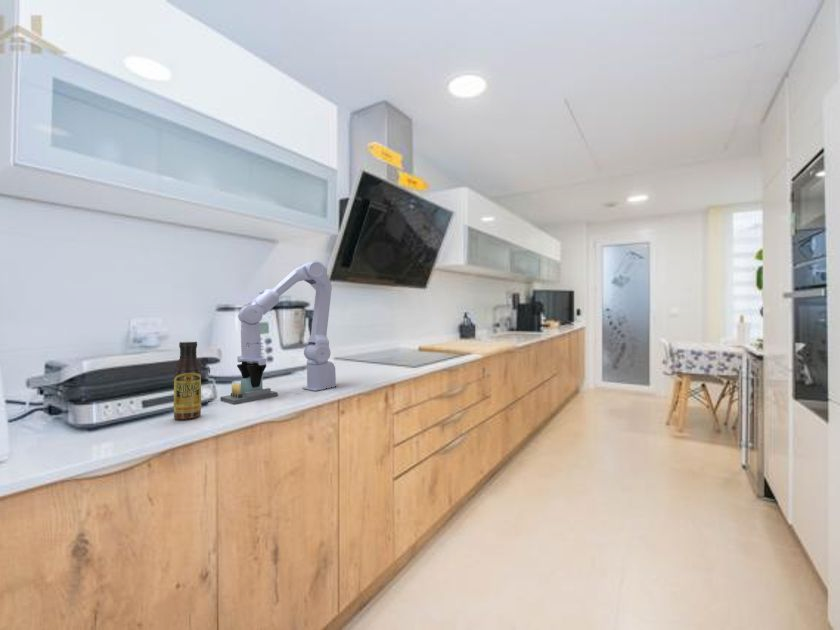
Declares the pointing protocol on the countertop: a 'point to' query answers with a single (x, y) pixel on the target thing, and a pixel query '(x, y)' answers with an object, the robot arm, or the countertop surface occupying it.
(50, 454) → the countertop surface
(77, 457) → the countertop surface
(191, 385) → the sauce bottle
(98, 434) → the countertop surface
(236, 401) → the header board
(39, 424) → the countertop surface
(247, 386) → the plug block
